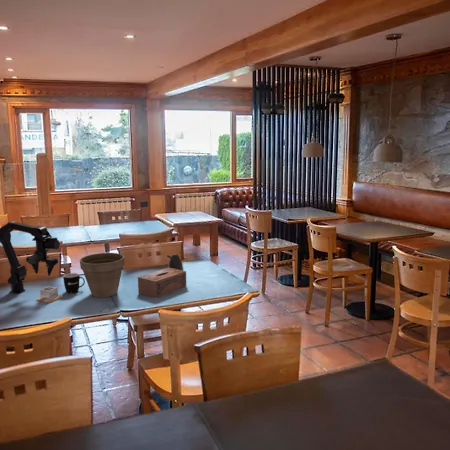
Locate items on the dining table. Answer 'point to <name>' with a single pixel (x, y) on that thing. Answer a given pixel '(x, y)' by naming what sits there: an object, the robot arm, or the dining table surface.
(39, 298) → the shaft block
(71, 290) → the mug
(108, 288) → the plant pot
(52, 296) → the collar
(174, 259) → the pump dispenser
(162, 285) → the tissue box cover
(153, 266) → the dining table surface
